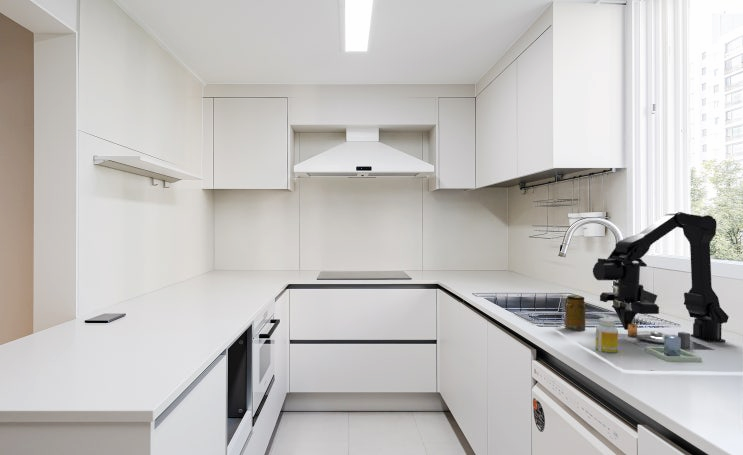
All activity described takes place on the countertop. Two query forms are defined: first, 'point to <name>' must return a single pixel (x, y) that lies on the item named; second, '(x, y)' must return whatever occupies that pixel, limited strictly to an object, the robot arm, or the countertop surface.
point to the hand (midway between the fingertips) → (626, 329)
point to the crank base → (684, 337)
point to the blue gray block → (672, 345)
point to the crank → (645, 334)
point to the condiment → (575, 313)
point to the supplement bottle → (606, 336)
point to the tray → (686, 357)
